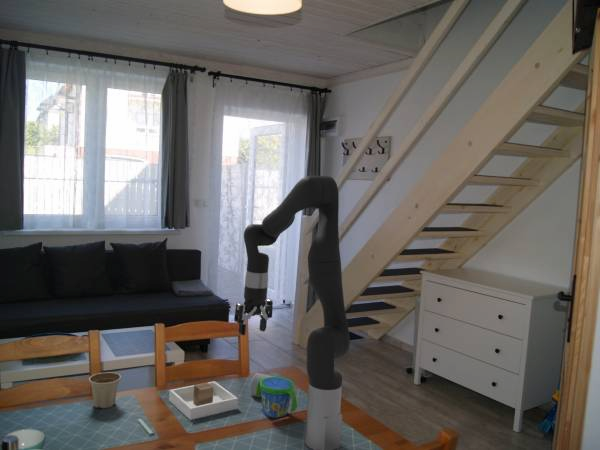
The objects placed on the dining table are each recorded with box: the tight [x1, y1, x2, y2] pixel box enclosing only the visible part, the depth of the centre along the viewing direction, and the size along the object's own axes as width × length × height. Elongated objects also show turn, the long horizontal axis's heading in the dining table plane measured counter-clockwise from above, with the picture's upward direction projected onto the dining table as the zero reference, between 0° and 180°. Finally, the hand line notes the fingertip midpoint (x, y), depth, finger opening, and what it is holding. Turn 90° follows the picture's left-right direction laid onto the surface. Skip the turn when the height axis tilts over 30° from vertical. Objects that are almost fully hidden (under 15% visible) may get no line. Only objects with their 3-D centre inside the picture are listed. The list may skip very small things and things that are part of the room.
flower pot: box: [88, 371, 122, 409], centre depth 161 cm, size 9×9×9 cm
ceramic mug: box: [250, 372, 275, 398], centre depth 176 cm, size 11×8×8 cm
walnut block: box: [193, 382, 213, 406], centre depth 164 cm, size 4×4×6 cm
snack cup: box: [255, 376, 298, 419], centre depth 161 cm, size 16×10×10 cm
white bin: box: [168, 380, 239, 421], centre depth 164 cm, size 16×16×4 cm
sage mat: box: [137, 418, 155, 436], centre depth 150 cm, size 10×10×1 cm
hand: (252, 332), depth 171 cm, fingers open, 8 cm apart
